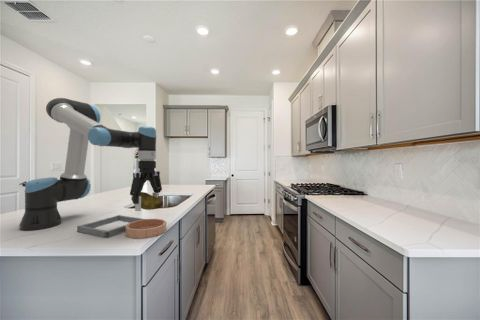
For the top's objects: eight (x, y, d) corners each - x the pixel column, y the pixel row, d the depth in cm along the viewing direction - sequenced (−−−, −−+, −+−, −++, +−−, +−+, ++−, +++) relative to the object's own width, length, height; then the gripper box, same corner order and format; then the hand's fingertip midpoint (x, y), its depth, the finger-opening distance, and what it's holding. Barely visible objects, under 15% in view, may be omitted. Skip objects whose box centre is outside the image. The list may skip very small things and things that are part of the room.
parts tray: (77, 231, 97) (77, 226, 97) (119, 219, 117) (119, 215, 117) (106, 238, 90) (106, 232, 90) (145, 223, 110) (145, 219, 110)
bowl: (116, 235, 93) (116, 226, 93) (146, 224, 109) (146, 217, 109) (146, 240, 87) (146, 232, 87) (173, 228, 103) (173, 221, 103)
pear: (156, 211, 93) (156, 193, 93) (128, 211, 94) (128, 193, 94) (164, 207, 102) (164, 191, 102) (138, 206, 103) (138, 190, 103)
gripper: (133, 160, 86) (133, 214, 86) (169, 160, 107) (169, 204, 107) (120, 160, 89) (119, 213, 89) (158, 160, 110) (158, 203, 110)
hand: (147, 208), depth 98 cm, fingers closed on pear, 9 cm apart
